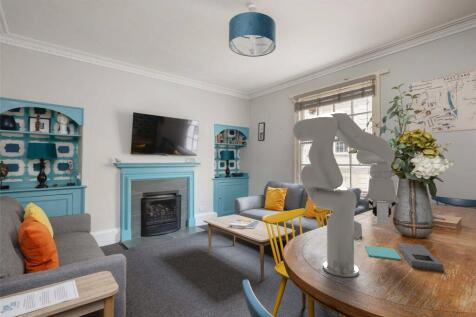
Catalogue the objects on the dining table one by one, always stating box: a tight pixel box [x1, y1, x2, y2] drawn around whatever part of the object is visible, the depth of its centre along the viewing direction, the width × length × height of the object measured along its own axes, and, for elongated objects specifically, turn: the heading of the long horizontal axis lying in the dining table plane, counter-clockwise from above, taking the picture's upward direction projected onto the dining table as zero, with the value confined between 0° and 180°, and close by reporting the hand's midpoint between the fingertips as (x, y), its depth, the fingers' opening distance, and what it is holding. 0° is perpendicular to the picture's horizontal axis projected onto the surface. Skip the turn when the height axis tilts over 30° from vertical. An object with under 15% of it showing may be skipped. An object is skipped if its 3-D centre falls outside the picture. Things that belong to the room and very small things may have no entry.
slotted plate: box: [396, 242, 444, 272], centre depth 102 cm, size 22×10×2 cm, turn 159°
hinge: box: [354, 219, 363, 240], centre depth 135 cm, size 17×5×10 cm, turn 49°
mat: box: [364, 245, 402, 261], centre depth 108 cm, size 12×12×1 cm
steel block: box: [374, 201, 390, 227], centre depth 108 cm, size 4×4×10 cm
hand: (381, 215), depth 108 cm, fingers closed on steel block, 4 cm apart
